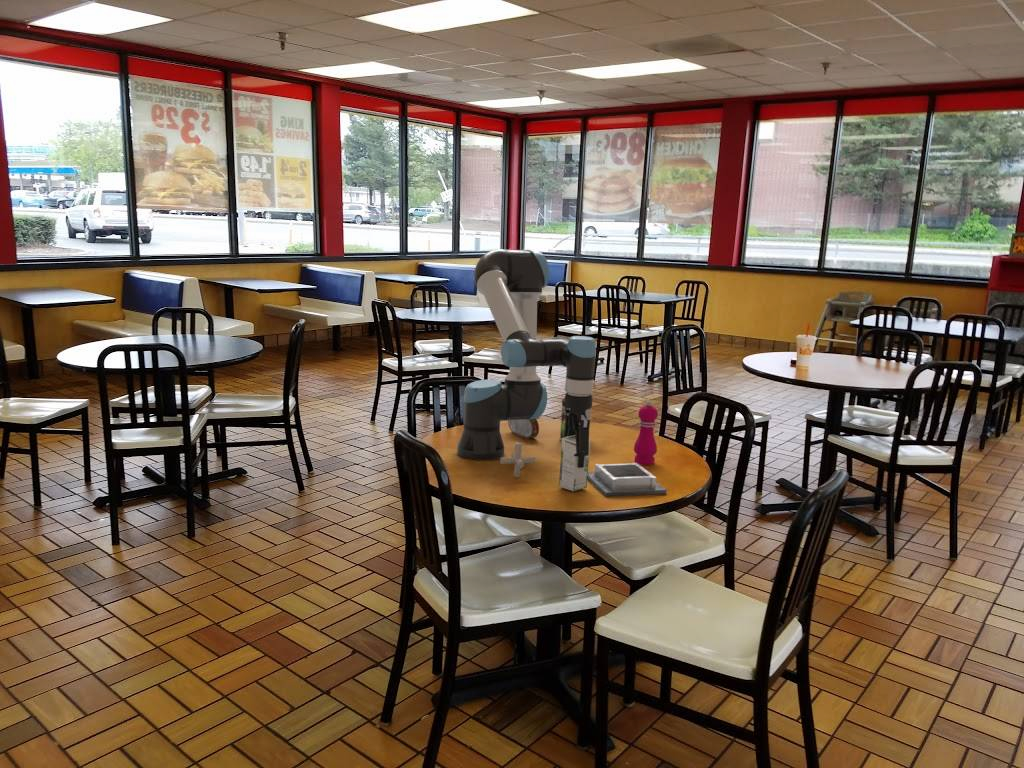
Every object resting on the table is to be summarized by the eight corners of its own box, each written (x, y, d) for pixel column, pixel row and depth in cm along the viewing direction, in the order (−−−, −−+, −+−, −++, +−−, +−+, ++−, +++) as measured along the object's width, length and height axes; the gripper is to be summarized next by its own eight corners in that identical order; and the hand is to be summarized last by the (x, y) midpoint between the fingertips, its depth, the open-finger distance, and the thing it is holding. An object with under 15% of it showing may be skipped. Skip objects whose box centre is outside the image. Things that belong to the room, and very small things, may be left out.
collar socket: (605, 496, 206) (606, 482, 205) (584, 476, 223) (585, 462, 222) (666, 493, 210) (667, 479, 210) (640, 473, 227) (641, 460, 227)
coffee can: (566, 444, 256) (568, 404, 254) (555, 436, 266) (557, 397, 263) (594, 443, 259) (596, 403, 257) (582, 435, 269) (584, 396, 266)
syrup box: (572, 482, 215) (575, 433, 212) (587, 488, 211) (591, 438, 208) (558, 486, 211) (561, 436, 208) (573, 492, 207) (577, 441, 204)
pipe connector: (503, 482, 214) (504, 448, 212) (497, 471, 224) (498, 439, 222) (537, 481, 216) (539, 448, 214) (530, 470, 226) (531, 438, 224)
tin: (539, 440, 260) (540, 416, 259) (532, 441, 258) (533, 417, 257) (513, 430, 272) (514, 407, 270) (506, 431, 270) (507, 408, 268)
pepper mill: (644, 467, 234) (649, 404, 231) (628, 460, 240) (632, 399, 236) (660, 463, 239) (665, 402, 235) (644, 457, 244) (648, 397, 240)
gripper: (605, 401, 197) (599, 484, 202) (580, 385, 216) (575, 461, 221) (577, 402, 195) (572, 486, 200) (555, 385, 214) (550, 462, 219)
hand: (573, 473), depth 210 cm, fingers closed on syrup box, 7 cm apart
